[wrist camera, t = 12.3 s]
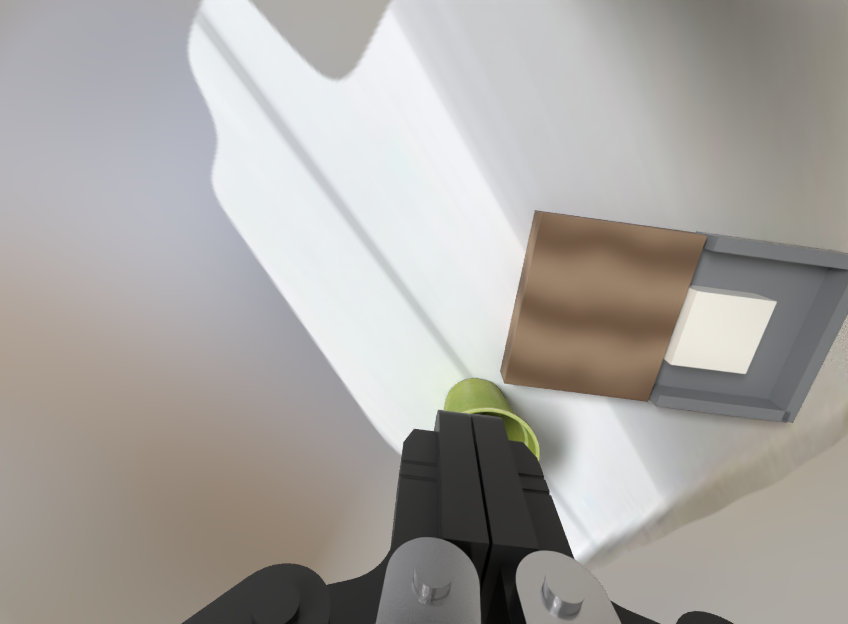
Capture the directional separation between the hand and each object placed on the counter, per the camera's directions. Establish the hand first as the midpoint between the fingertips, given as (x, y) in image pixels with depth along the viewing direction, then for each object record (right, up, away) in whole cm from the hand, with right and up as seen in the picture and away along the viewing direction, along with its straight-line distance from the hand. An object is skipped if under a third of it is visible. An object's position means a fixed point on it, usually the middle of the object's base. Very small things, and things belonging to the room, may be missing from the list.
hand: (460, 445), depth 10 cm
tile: (+26, +2, +29) cm, 38 cm away
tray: (+29, +2, +29) cm, 41 cm away
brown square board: (+15, +4, +29) cm, 33 cm away
